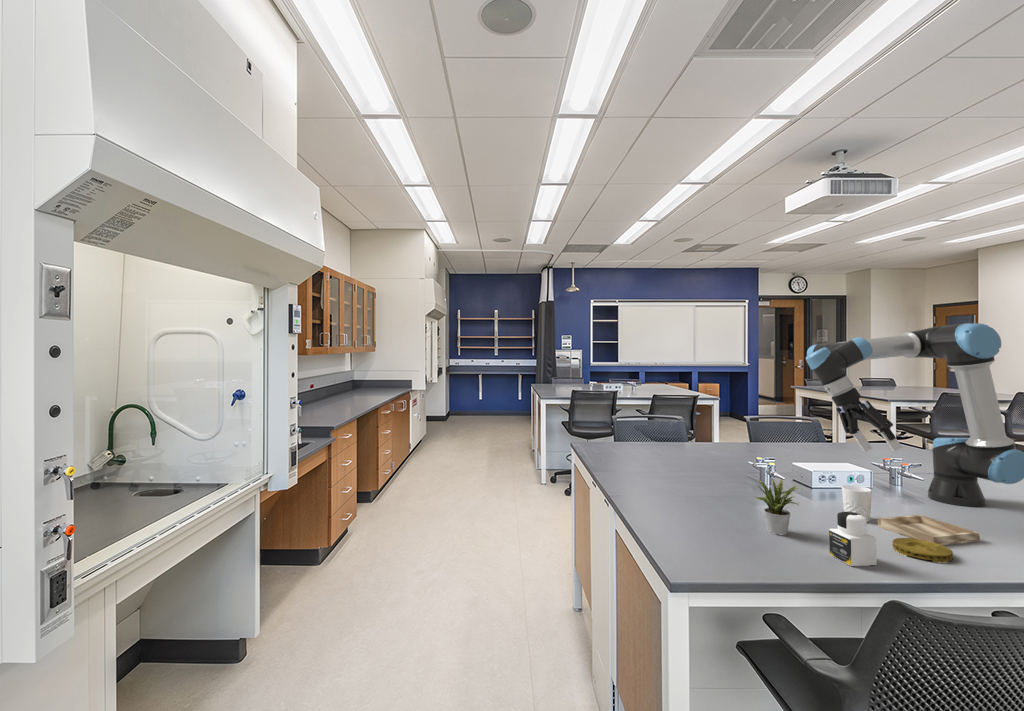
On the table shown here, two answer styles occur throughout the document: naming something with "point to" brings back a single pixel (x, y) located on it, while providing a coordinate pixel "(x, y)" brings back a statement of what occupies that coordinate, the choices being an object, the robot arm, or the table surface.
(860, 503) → the white cup
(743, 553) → the table surface
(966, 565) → the table surface
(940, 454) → the robot arm
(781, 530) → the house plant
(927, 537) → the tray
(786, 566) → the table surface
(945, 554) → the gold notched disc
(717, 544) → the table surface
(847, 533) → the medicine bottle
